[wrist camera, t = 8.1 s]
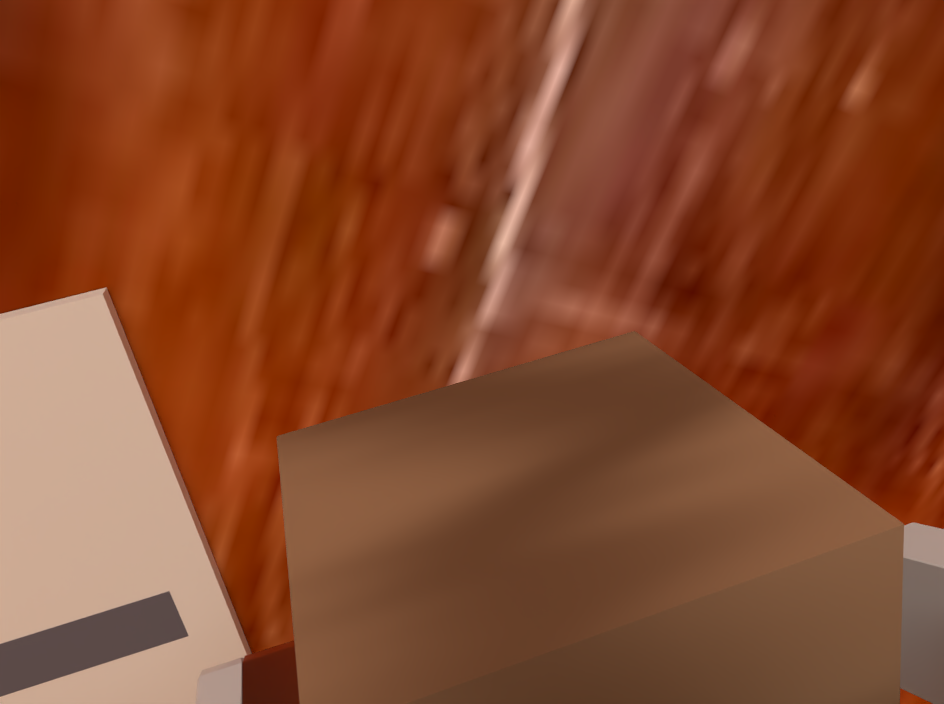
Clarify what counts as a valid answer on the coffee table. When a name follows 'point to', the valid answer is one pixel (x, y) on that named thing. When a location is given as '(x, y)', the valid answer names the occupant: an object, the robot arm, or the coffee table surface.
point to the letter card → (97, 524)
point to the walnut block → (583, 548)
